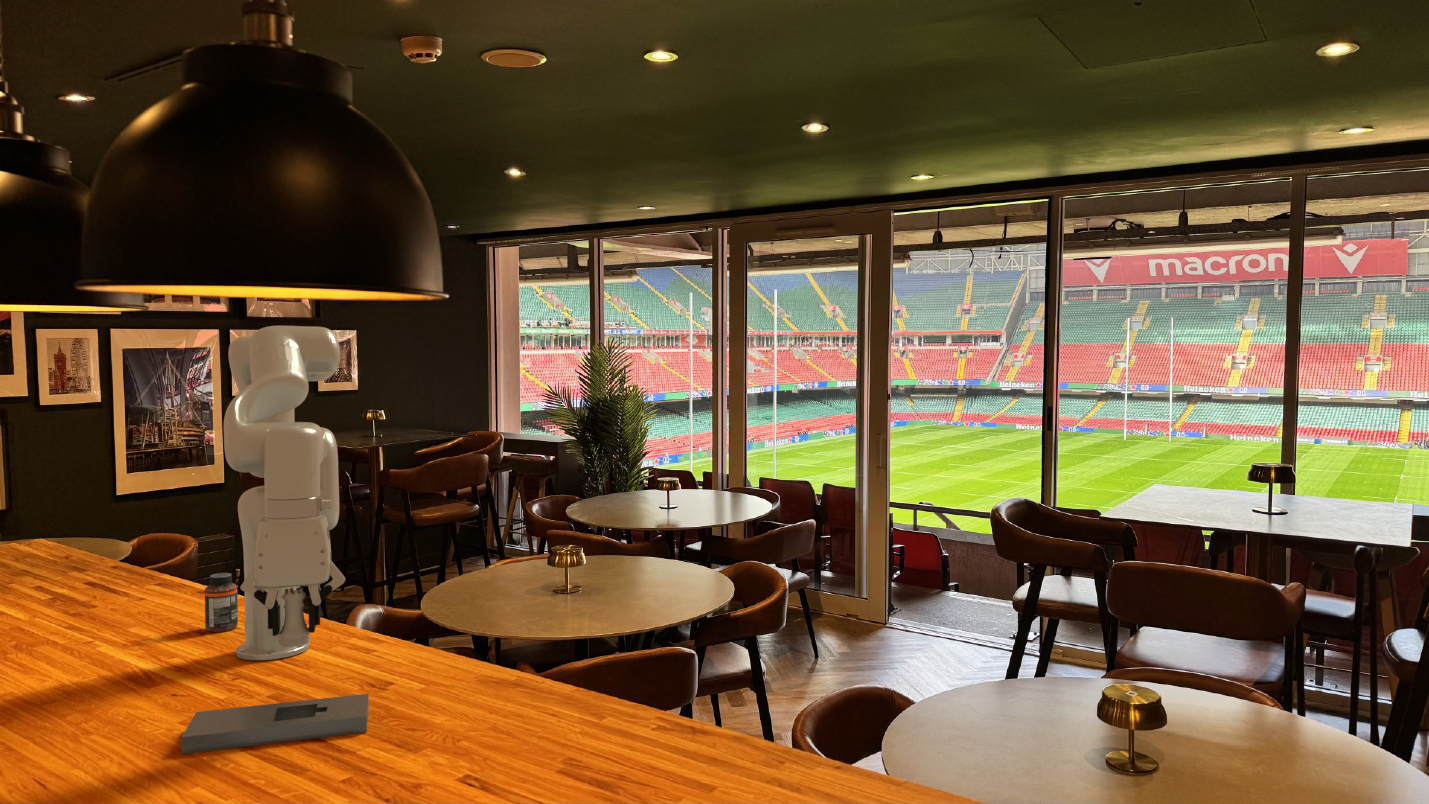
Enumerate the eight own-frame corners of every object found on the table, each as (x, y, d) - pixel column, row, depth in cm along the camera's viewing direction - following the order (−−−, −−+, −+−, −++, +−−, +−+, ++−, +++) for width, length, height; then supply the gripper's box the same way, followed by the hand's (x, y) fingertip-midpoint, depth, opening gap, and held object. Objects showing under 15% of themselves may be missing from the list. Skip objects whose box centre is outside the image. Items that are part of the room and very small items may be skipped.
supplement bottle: (208, 626, 190) (208, 572, 189) (240, 624, 192) (239, 570, 191) (202, 634, 184) (201, 578, 184) (234, 631, 186) (233, 576, 185)
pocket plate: (196, 727, 136) (196, 711, 135) (368, 708, 143) (368, 693, 143) (181, 754, 126) (181, 737, 126) (366, 732, 134) (366, 716, 134)
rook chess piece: (317, 639, 136) (317, 586, 136) (296, 648, 132) (295, 593, 132) (292, 637, 138) (292, 585, 137) (271, 646, 133) (270, 591, 133)
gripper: (355, 503, 141) (356, 620, 141) (233, 508, 135) (235, 630, 136) (352, 510, 134) (354, 633, 134) (224, 515, 128) (226, 644, 129)
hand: (294, 630), depth 135 cm, fingers closed on rook chess piece, 4 cm apart
